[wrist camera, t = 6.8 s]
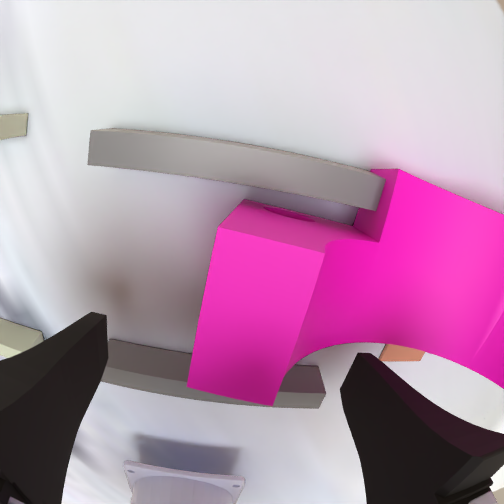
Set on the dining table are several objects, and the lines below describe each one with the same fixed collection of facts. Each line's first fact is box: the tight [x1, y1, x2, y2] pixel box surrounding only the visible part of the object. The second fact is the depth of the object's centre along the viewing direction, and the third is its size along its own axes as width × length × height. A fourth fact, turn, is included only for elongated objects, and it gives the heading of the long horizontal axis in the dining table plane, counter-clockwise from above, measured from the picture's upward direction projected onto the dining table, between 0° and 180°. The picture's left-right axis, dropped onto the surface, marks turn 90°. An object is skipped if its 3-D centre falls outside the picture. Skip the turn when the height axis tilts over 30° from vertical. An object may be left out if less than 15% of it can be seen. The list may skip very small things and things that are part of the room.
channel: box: [88, 128, 425, 408], centre depth 13 cm, size 11×18×2 cm, turn 80°
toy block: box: [187, 169, 504, 406], centre depth 10 cm, size 15×6×8 cm, turn 77°
